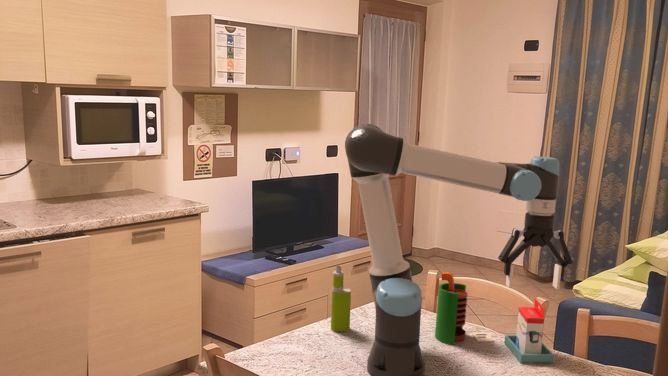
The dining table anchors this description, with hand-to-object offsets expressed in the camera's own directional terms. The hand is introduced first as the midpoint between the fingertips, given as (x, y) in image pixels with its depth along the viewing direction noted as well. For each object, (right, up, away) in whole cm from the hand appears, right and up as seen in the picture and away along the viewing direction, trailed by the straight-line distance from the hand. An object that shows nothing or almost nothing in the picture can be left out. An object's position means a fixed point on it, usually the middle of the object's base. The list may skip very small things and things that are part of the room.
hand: (532, 287), depth 162 cm
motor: (-21, -18, +12) cm, 30 cm away
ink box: (0, -19, +3) cm, 19 cm away
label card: (-11, -18, +13) cm, 24 cm away
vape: (-54, -16, +16) cm, 59 cm away
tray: (0, -19, +3) cm, 20 cm away
